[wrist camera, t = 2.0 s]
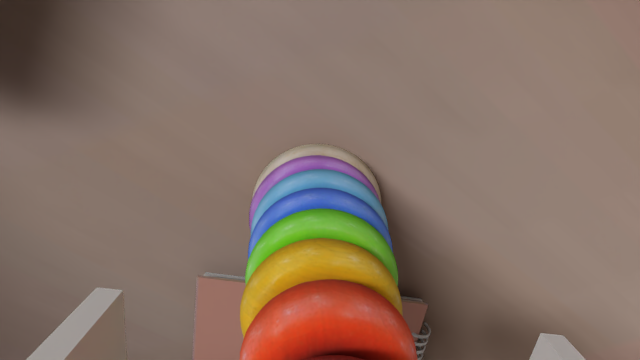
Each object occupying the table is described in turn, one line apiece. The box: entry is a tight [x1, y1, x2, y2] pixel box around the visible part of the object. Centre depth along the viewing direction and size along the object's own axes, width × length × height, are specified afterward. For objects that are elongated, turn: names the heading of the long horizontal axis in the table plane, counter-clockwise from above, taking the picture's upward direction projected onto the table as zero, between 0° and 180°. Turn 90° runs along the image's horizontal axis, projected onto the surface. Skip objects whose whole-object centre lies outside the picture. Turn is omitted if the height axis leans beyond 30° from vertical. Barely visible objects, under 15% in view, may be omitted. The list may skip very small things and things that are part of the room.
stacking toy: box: [240, 144, 417, 360], centre depth 13 cm, size 8×8×19 cm
